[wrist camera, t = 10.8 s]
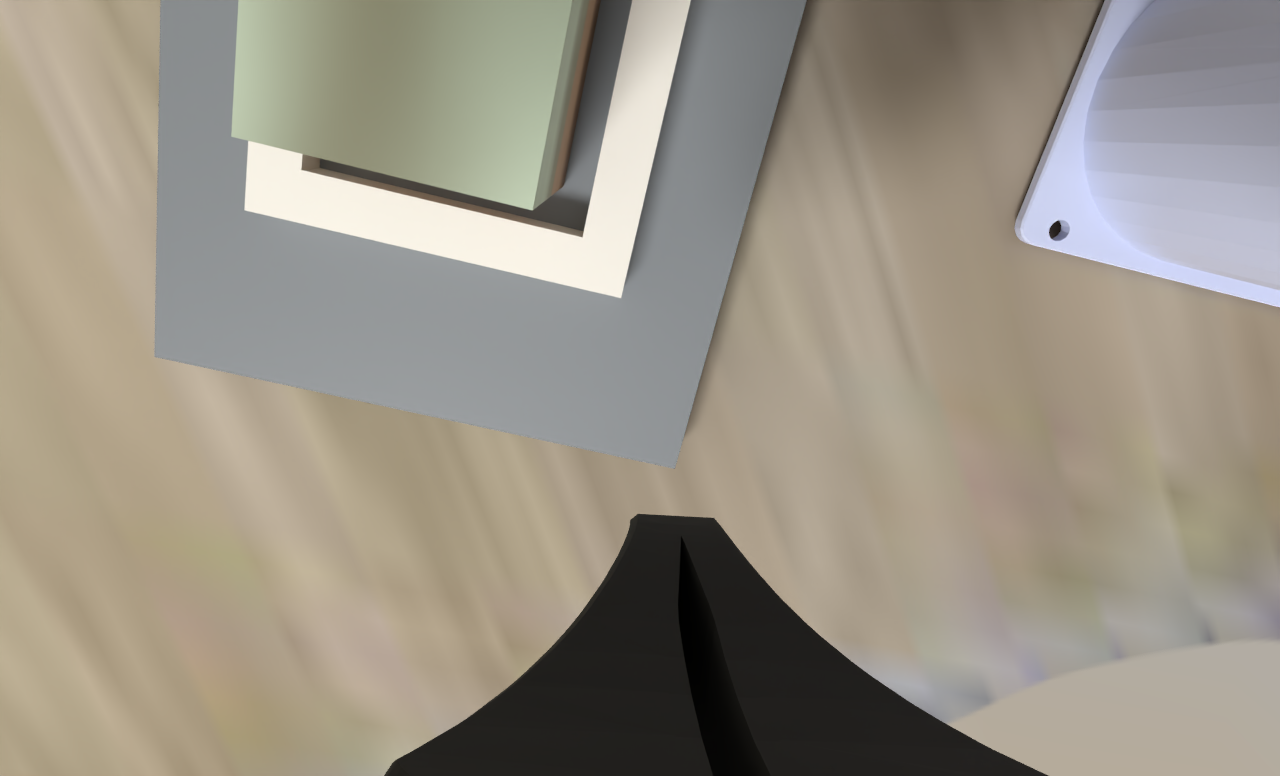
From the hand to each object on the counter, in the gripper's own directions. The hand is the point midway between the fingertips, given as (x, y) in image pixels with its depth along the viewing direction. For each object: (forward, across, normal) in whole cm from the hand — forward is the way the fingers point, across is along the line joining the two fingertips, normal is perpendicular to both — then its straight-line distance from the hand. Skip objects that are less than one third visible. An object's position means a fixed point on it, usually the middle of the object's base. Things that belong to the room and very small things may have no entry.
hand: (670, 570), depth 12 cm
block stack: (+8, +5, -8) cm, 12 cm away
